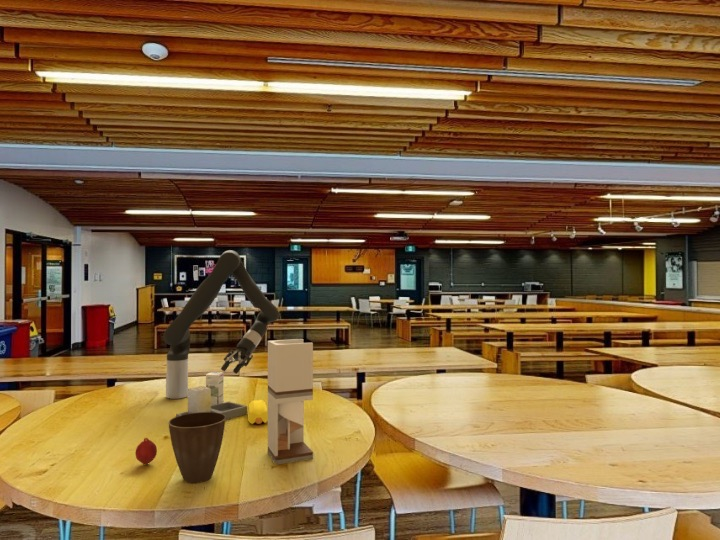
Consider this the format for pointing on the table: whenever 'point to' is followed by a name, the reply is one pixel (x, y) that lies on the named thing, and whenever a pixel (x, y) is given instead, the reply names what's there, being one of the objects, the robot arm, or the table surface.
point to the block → (199, 399)
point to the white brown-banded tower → (288, 398)
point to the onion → (146, 451)
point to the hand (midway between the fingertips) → (228, 371)
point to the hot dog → (257, 412)
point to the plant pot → (197, 443)
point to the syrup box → (215, 386)
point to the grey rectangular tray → (226, 409)
